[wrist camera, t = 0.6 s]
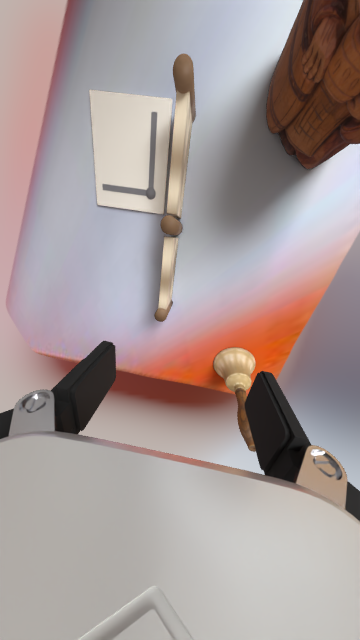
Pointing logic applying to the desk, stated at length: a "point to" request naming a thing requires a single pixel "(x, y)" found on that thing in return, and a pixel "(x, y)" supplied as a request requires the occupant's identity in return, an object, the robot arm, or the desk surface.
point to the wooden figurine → (318, 82)
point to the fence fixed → (180, 142)
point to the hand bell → (237, 382)
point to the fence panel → (167, 277)
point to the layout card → (130, 149)
